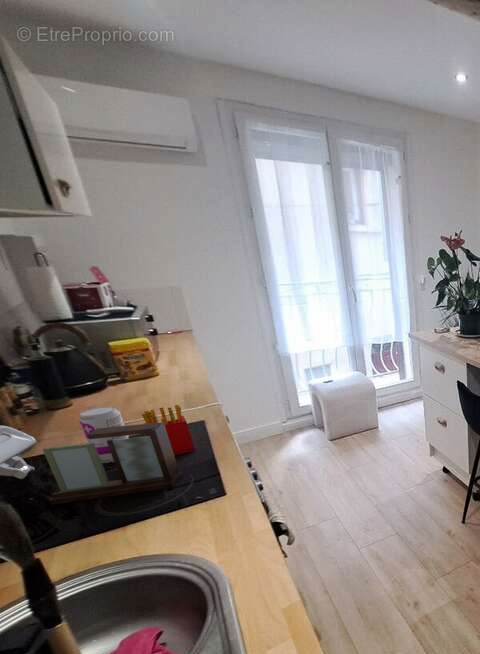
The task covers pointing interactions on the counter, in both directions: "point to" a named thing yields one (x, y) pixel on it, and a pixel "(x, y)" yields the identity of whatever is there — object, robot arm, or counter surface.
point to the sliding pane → (76, 467)
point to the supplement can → (101, 419)
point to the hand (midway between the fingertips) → (29, 473)
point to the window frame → (132, 463)
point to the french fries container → (173, 429)
